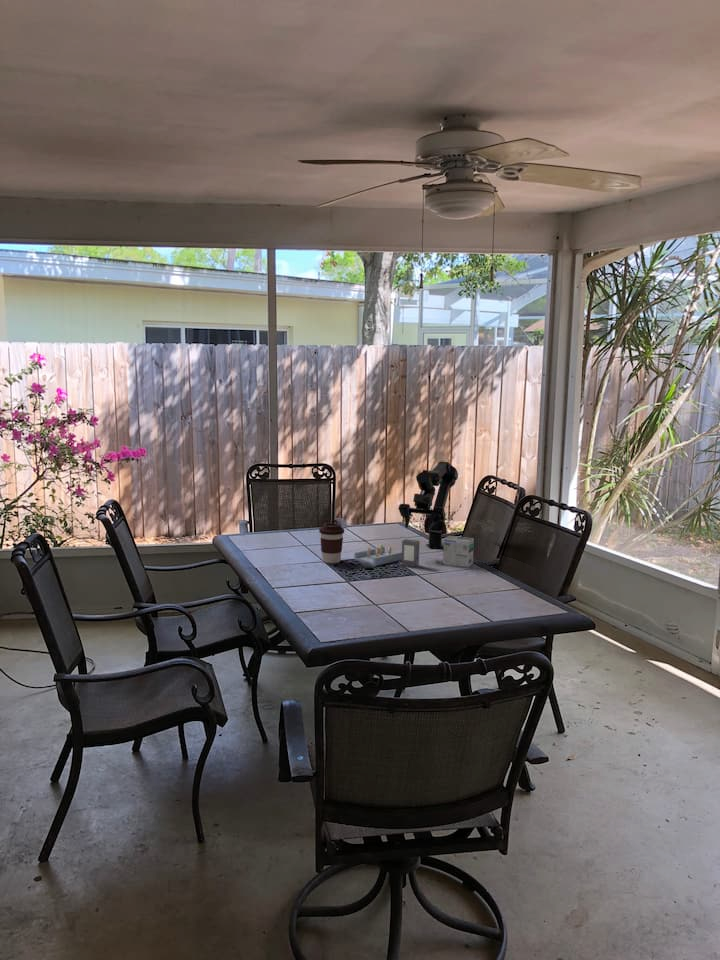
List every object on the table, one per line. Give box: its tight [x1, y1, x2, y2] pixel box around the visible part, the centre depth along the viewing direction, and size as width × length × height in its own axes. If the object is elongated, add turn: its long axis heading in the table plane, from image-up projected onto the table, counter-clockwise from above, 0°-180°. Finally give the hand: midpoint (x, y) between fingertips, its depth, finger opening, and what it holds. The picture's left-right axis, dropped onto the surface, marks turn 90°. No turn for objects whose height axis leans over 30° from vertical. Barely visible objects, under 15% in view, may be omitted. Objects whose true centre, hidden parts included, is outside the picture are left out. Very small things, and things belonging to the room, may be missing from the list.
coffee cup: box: [318, 522, 345, 564], centre depth 302 cm, size 10×10×15 cm
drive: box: [400, 538, 420, 569], centre depth 299 cm, size 4×6×10 cm, turn 68°
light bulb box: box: [442, 535, 475, 568], centre depth 302 cm, size 11×7×11 cm, turn 65°
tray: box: [354, 544, 402, 567], centre depth 307 cm, size 16×12×5 cm
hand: (417, 528), depth 304 cm, fingers open, 9 cm apart
